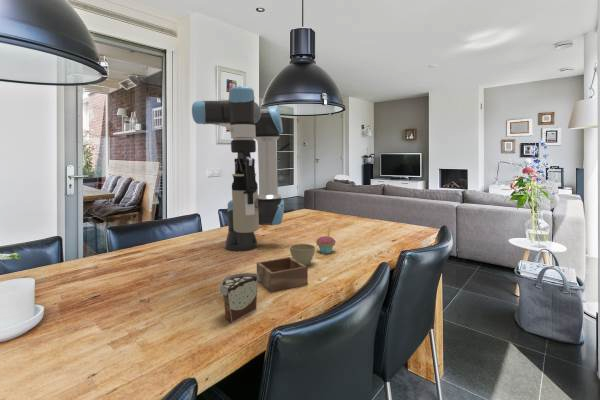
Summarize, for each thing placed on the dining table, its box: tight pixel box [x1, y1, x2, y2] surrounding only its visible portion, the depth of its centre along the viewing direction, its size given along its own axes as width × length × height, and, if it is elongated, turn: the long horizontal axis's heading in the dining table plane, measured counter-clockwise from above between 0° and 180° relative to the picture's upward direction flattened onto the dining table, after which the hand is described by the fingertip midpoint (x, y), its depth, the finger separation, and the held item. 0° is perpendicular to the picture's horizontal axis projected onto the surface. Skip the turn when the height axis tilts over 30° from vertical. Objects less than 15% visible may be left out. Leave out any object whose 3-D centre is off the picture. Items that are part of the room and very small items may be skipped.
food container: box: [219, 272, 260, 324], centre depth 89 cm, size 12×6×10 cm, turn 145°
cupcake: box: [315, 226, 336, 254], centre depth 146 cm, size 9×8×12 cm
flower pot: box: [289, 243, 316, 267], centre depth 130 cm, size 10×10×7 cm
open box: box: [256, 256, 309, 293], centre depth 112 cm, size 13×13×6 cm
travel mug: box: [231, 173, 260, 233], centre depth 104 cm, size 8×8×18 cm
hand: (245, 212), depth 104 cm, fingers closed on travel mug, 8 cm apart
